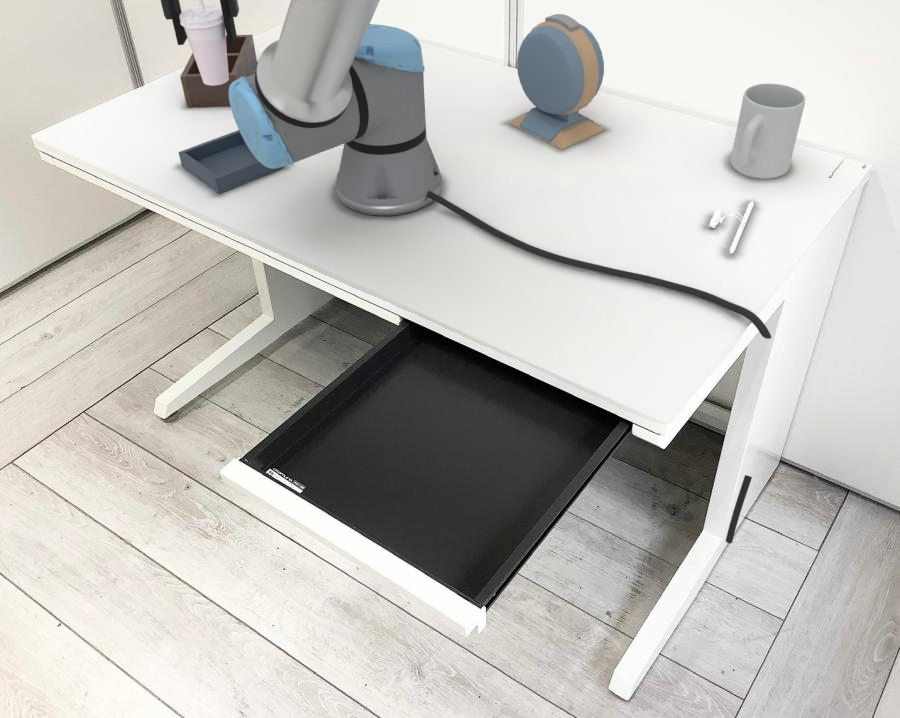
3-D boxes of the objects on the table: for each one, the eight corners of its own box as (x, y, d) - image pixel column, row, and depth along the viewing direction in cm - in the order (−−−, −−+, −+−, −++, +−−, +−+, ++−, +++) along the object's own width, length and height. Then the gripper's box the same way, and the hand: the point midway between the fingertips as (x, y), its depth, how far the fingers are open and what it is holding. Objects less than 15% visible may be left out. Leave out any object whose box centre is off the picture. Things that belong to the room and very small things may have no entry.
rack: (241, 105, 153) (236, 74, 150) (187, 107, 154) (179, 76, 150) (257, 63, 167) (252, 34, 163) (207, 65, 167) (200, 36, 164)
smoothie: (243, 71, 132) (224, -27, 123) (231, 89, 127) (210, -11, 118) (201, 71, 132) (180, -27, 123) (187, 89, 128) (164, -11, 119)
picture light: (733, 256, 115) (736, 242, 114) (699, 249, 117) (702, 235, 115) (754, 204, 125) (757, 191, 123) (723, 198, 126) (726, 185, 125)
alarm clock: (609, 132, 142) (620, 21, 131) (566, 152, 138) (573, 38, 126) (547, 103, 151) (552, -3, 139) (504, 121, 146) (506, 12, 135)
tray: (284, 167, 136) (281, 153, 135) (218, 194, 131) (215, 179, 129) (245, 142, 143) (242, 128, 141) (181, 166, 138) (178, 152, 136)
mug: (745, 146, 138) (759, 77, 130) (798, 162, 133) (816, 92, 126) (709, 177, 131) (722, 107, 123) (764, 195, 126) (780, 123, 119)
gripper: (251, -152, 114) (279, 28, 129) (100, -147, 114) (146, 32, 129) (241, -139, 108) (272, 48, 123) (83, -133, 108) (132, 53, 123)
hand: (207, 40), depth 126 cm, fingers closed on smoothie, 6 cm apart
